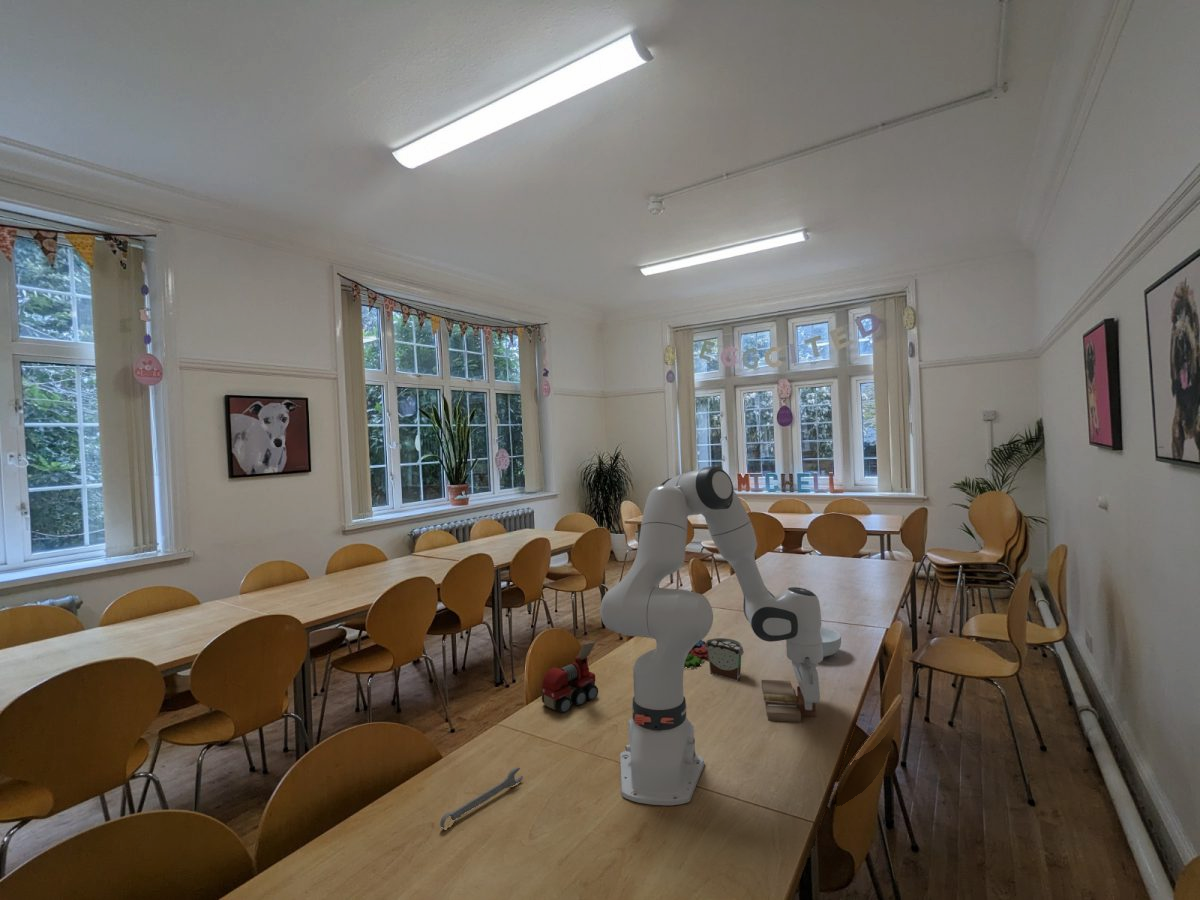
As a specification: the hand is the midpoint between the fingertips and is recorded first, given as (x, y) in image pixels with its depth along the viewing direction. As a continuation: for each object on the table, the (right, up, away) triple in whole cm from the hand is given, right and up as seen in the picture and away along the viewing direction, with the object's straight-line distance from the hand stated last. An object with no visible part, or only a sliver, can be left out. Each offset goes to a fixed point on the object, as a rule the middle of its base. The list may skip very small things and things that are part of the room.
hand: (806, 704), depth 144 cm
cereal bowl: (+17, -2, +39) cm, 43 cm away
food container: (-14, -3, +26) cm, 30 cm away
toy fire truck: (-61, -5, +11) cm, 62 cm away
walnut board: (-5, -2, +6) cm, 8 cm away
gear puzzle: (-26, -4, +41) cm, 48 cm away
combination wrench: (-77, -6, -32) cm, 83 cm away
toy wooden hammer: (-4, -2, +1) cm, 5 cm away
